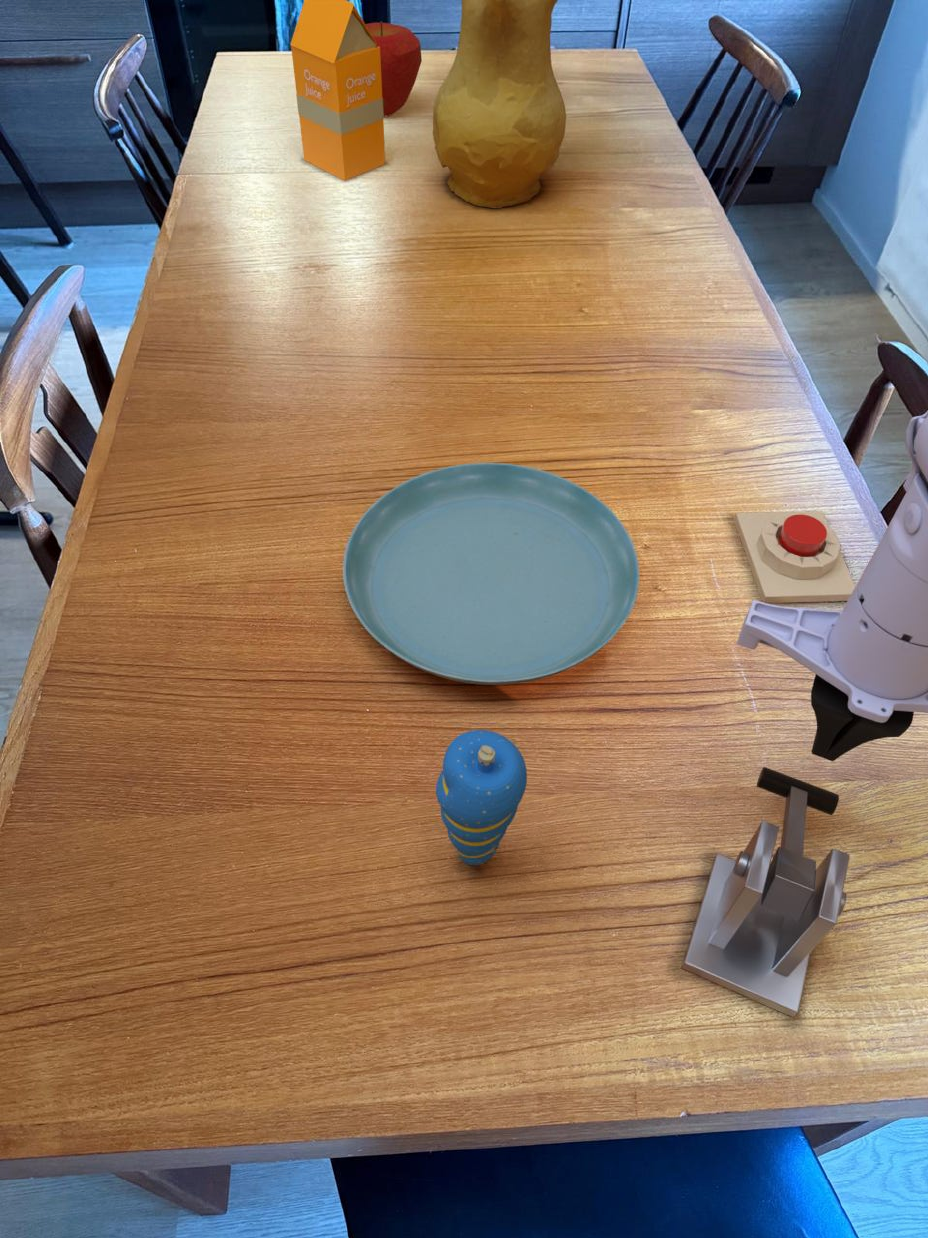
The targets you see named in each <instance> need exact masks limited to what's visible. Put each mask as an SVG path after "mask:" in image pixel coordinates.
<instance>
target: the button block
mask: <svg viewBox="0 0 928 1238" xmlns="http://www.w3.org/2000/svg"><path fill="white" fill-rule="evenodd" d="M798 514H802V515H808V516H811V517H814V518H816V519H817V520H819V521H820V522H821V523H822V524H823V525H824V526H825V528H826V530H827V537H826V539H825V541H824V543H823V545H822V547H821V549H820V551H819V552H818V553H817V554H816V555H813V556H810V557H800V556H797V555H794V554H792V553H789V552H787V551H786V550H785V549H784V548H783V547H782V546H781V545H780V543H779V534H780V531H781V529H782V526H783V524H784V522H785V520H786V519H787V518H788V517H790V516H793V515H798ZM733 522H734V525H735V527H736V531H737V533H738V537H739V540H740V543H741V545H742V548H743V551H744V553H745V556H746V560H747V563H748V566H749V568H750V572H751V574H752V577H753V580H754V583H755V586H756V588H757V591H758V594H759V597H760V601H761V602H764V603H767V604H786V603H787V604H788V603H818V602H819V603H821V602H822V603H823V602H847V601H848V600H849V598H850V596H851V594H852V592H853V590H854V589H855V587H856V584H855V582H854V580H853V577H852V575H851V573H850V571H849V568H848V565H847V563H846V561H845V560H844V557H843V554H842V553H841V547H842V544H841V543H840V540H839V537H838V536H837V535H838V534H837V533H836V532H835V530H834V529H833V528H831V527H830V525H829V523H828V521H827V518H826V516H825V513H824V511H823V510H812V511H811V510H809V511H772V512H771V511H769V512H763V511H762V512H735V515H734V518H733Z"/></svg>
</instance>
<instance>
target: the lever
mask: <svg viewBox="0 0 928 1238" xmlns="http://www.w3.org/2000/svg"><path fill="white" fill-rule="evenodd" d="M756 787H757V788H758V789H761V790H763V791H767V792H769V793H772V794H774V795H776V796H779V797H782V798H785V805H784V812H783V822H782V831H781V840H780V846H778V847H777V848H776V850H775V853H774V855H773V856H772V859H771V863H770V867H769V871H768V875H767V879H766V883H765V887H764V890H763V894H762V900H761V906H762V907H765V908H767V909H770V910H772V911H774V912H777V913H779V914H782V915H784V916H786V917H789V918H791V919H794V920H796V921H800V919H801V917H802V915H803V913H804V911H805V909H806V907H807V905H808V903H809V901H810V899H811V897H812V895H813V893H814V891H815V873H816V869H817V861H816V860H814V859H812V858H810V857H807V856H804V850H805V849H804V848H805V838H806V837H805V836H806V835H805V834H806V821H807V808H811V809H813V810H816V811H819V812H822V813H823V814H826V815H829V816H832V815H834V814H835V812H836V809H837V807H838V804H839V801H840V795H839V794H838V793H835V792H832V791H830V790H828V789H824V788H821V787H820V786H819V787H818V786H817V785H814V784H811V783H808V782H805V781H803V780H800V779H797V778H795V777H792V776H790V775H787V774H784V773H782V772H779V771H777V770H773V769H772V768H768V767H766V766H763V767H762V768H761V771H760V773H759V776H758V778H757V782H756Z"/></svg>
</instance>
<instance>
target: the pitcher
mask: <svg viewBox="0 0 928 1238" xmlns="http://www.w3.org/2000/svg"><path fill="white" fill-rule="evenodd" d="M558 1H559V0H461V19H460V30H459V31H460V32H459V36H458V44H457V49H456V53H455V57H454V60H453V63H452V65H451V67H450V70H449V72H448V74H447V76H446V77H445V78H444V80H443V82H442V83H441V85H440V87H439V89H438V92H437V93H436V97H435V100H434V103H433V111H432V116H433V117H432V138H433V142H434V149H435V152H436V153H435V154H436V155H437V158H438V161H439V163H440V165H441V167H442V168H443V169H445V168H447V167H448V170H449V173H450V174H451V176H449V177H448V180H447V185H448V187H449V189H450V191H451V192H453V193H454V194H455V196H457V197H458V198H461V200H464V201H465V202H466V203H469V204H472V205H475V206H478V207H484V208H489V209H501V208H503V207H504V208H505V207H513V206H515V205H519V204H522V203H526V202H529V201H530V200H531V199H532V198H534V197H535V196H536V195H538V193H540V190H541V188H542V186H541V183H540V177H542V175H544V173H546V172H547V171H549V170H550V169H551V168H552V167H553V166H554V164H555V163H556V161H557V160H558V159H559V157H560V148H561V145H562V143H563V141H564V139H565V134H566V125H567V124H566V123H567V113H566V112H567V111H566V105H565V102H564V97H563V95H562V91H561V89H560V86H559V85H558V82H557V80H556V76H555V74H554V70H553V65H552V49H551V34H552V22H553V21H552V20H553V19H552V16H553V15H552V13H553V11H554V8H555V5H556V4H557V3H558Z"/></svg>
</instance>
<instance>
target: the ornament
mask: <svg viewBox="0 0 928 1238" xmlns="http://www.w3.org/2000/svg"><path fill="white" fill-rule="evenodd" d="M527 782H528V773H527V765H526V762H525V759H524V757H523V755H522V753H521V751H520V749H519V748H518V747H517V745H516V744H514V742H512V741H511V740H510V739H508V738H507V737H505V735H502V734H500V733H498V732H494V731H491V730H485V729H474V730H469V731H467V732H463V733H462V734H460V735H458V736H457V737H455V738H454V739H453V740H452V741H451V743H450V744H449V745H448V747H447V749H446V750H445V753H444V756H443V760H442V771H441V772H440V774H439V775H438V777H437V782H436V785H435V795H436V799H437V803H438V805H439V807H440V815H441V816H440V817H441V821H442V822H443V825H444V826H445V827H446V829H447V830H446V831H447V836H448V838H449V841H450V843H451V844H452V845H453V847H454V848H455V850H456V852H457V854H458V856H459V858H460V859H461V861H463V863H465V864H467V865H470V866H479V865H482V864H485V863H486V862H488V861H489V860H490V859H492V858H493V856H494V855H495V854H496V853H497V851H498V849H499V846H500V842H501V841H502V840H503V838H504V836H505V835H506V832H507V829H508V827H509V826H510V825H511V824H512V822H513V820H514V818H515V817H516V814H517V811H518V808H519V805H520V803H521V801H522V799H523V797H524V794H525V792H526V789H527Z"/></svg>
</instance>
